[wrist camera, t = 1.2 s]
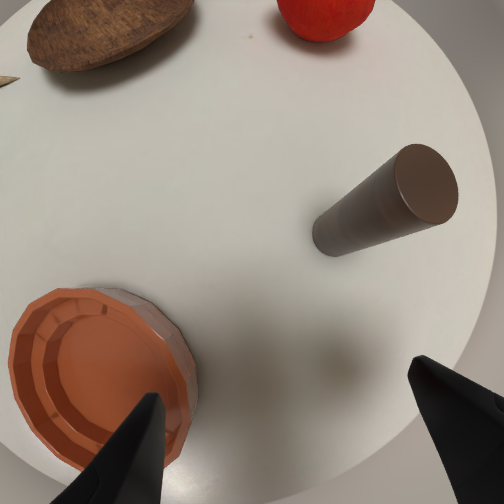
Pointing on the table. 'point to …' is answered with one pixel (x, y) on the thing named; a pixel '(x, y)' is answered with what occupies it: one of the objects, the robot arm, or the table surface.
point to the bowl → (98, 30)
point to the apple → (324, 17)
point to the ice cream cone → (6, 79)
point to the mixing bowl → (98, 370)
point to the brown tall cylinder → (390, 203)
